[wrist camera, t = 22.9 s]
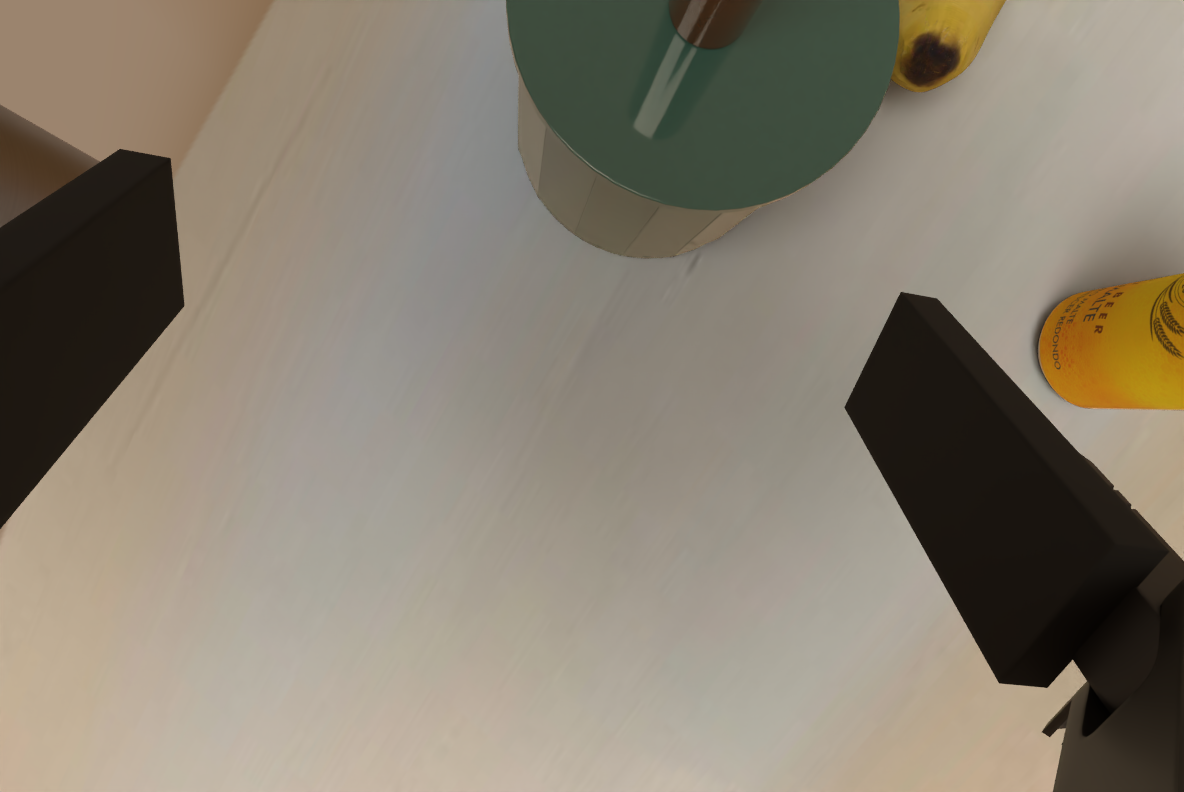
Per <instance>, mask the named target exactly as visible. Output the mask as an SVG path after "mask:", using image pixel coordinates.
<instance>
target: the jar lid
mask: <svg viewBox="0 0 1184 792" xmlns="http://www.w3.org/2000/svg"><path fill="white" fill-rule="evenodd" d="M506 15H507V25H508V34H509V42H510V46H511V50H512V55H513V59H514V63H515V67H516V70H517V72H518V75H519V78H520V80H521V83H522V85H523V88H524V91H525V93H526V95H527V97H528V98H529V100H530V102H531V104H532V106H533V108H534V110H535V112H536V114H537V115H538V117H539V118H540V120H541V121H542V122H543V124H544V125H545V127H546V128H547V130H548V131H549V132H550V134H551V135H552V137H553V138H554V139H555V140H556V141H557V142H558V143H559V144H560V145H561V147H562V148H563V149H564V150H565V151H566V152H567V153H568V154H569V155H570V156H571V157H572V158H573V159H574V160H575V161H576V162H578V163H579V164H580V165H581V166H582V167H583V168H585V169H586V170H587V171H588V172H589V173H591V174H592V175H593V176H595V177H596V178H598V179H600V180H601V181H603V182H604V183H606V184H607V185H609V186H610V187H612V188H614V189H616V190H618V191H620V192H622V193H624V194H626V195H628V196H630V197H632V198H634V199H636V200H639V201H642V202H645V203H648V204H651V205H654V206H657V207H661V208H665V209H670V210H675V211H681V212H686V213H702V214H719V213H731V212H740V211H744V210H749V209H754V208H758V207H762V206H765V205H768V204H770V203H773V202H776V201H779V200H781V199H784V198H786V197H788V196H790V195H792V194H794V193H796V192H798V191H799V190H801V189H803V188H805V187H807V186H808V185H810V184H811V183H812V182H814V181H815V180H817V179H818V178H819V177H821V176H822V175H824V174H825V173H826V172H828V171H829V170H830V169H832V168H833V167H834V166H835V165H836V164H837V163H838V162H839V161H840V160H841V159H842V158H843V157H844V156H846V155H847V154H848V153H849V152H850V151H851V149H852V148H853V147H854V146H855V144H856V143H857V142H858V141H859V139H860V138H861V137H862V136H863V134H864V133H865V132H866V130H867V129H868V127H869V125H870V124H871V122H872V120H873V119H874V117H875V115H876V114H877V112H878V110H879V108H880V105H881V103H882V101H883V99H884V96H885V94H886V92H887V89H888V87H889V83H890V80H891V76H892V73H893V69H894V66H895V62H896V55H897V49H898V42H899V26H900V8H899V0H506Z"/></svg>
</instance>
